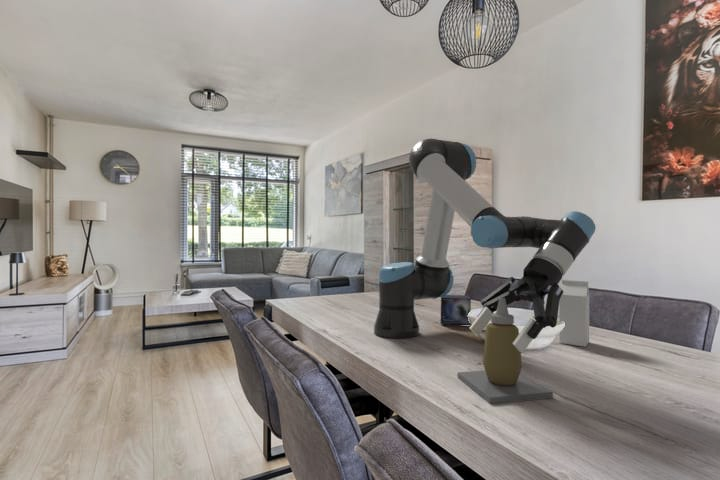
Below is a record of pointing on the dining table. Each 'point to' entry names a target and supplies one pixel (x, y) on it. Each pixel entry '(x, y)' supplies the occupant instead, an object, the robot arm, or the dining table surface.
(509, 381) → the squeeze bottle
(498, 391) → the slate trivet
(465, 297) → the small box
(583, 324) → the milk carton
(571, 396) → the dining table surface
